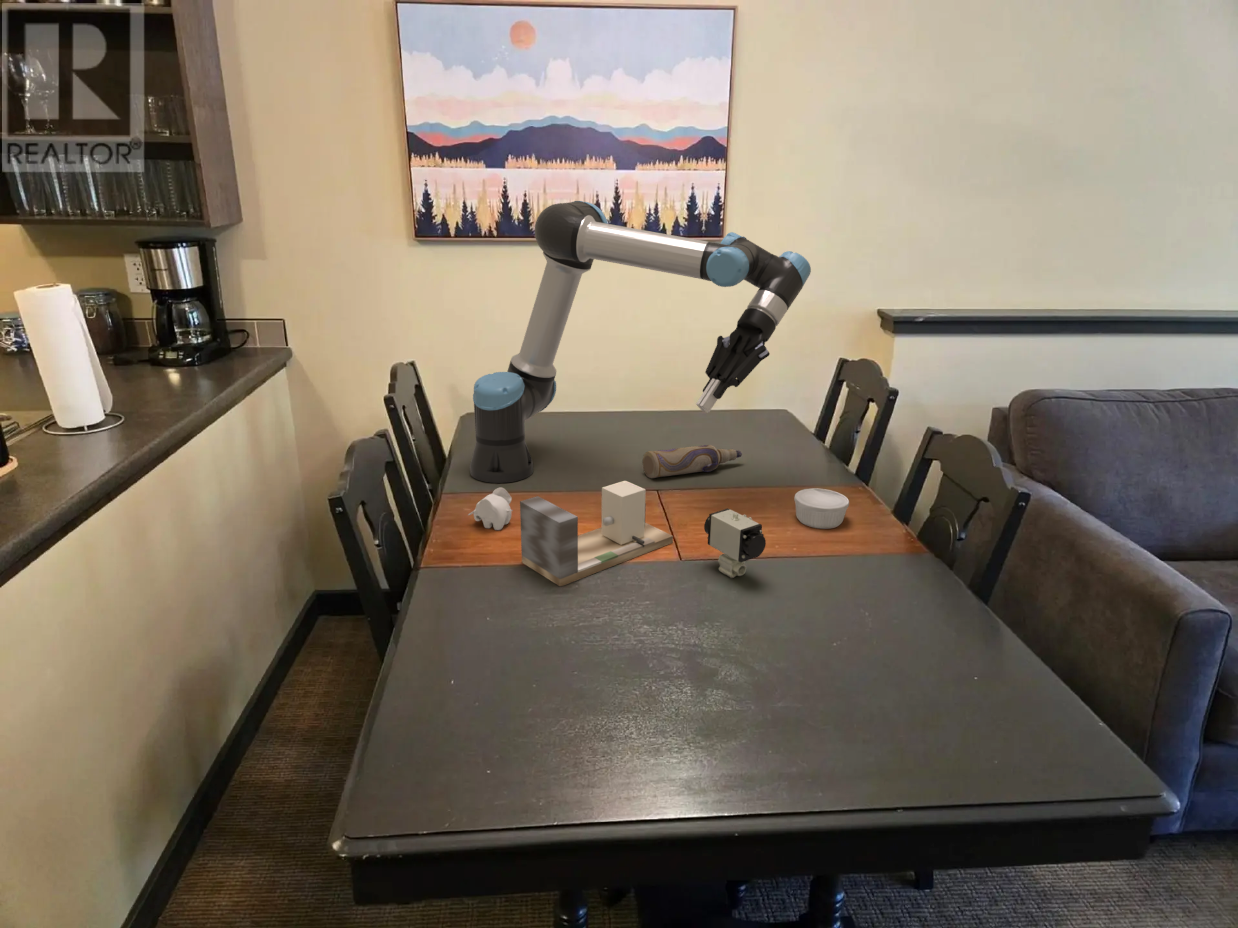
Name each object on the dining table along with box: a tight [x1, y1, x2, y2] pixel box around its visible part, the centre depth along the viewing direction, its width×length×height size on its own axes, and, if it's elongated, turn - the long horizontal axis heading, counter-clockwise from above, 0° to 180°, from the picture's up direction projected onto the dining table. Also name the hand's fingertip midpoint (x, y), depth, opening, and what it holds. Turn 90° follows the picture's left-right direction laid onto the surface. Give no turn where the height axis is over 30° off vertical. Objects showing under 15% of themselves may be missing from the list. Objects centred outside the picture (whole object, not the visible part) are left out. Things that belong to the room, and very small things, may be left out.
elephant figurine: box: [467, 486, 513, 531], centre depth 167 cm, size 8×10×7 cm
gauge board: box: [519, 495, 674, 588], centre depth 154 cm, size 12×28×12 cm, turn 131°
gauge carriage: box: [601, 480, 647, 545], centre depth 157 cm, size 9×8×10 cm
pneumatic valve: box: [703, 508, 767, 579], centre depth 148 cm, size 6×12×12 cm, turn 35°
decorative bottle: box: [642, 444, 743, 479], centre depth 197 cm, size 26×8×7 cm, turn 112°
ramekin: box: [794, 487, 850, 530], centre depth 172 cm, size 11×11×5 cm
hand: (702, 408), depth 165 cm, fingers closed
